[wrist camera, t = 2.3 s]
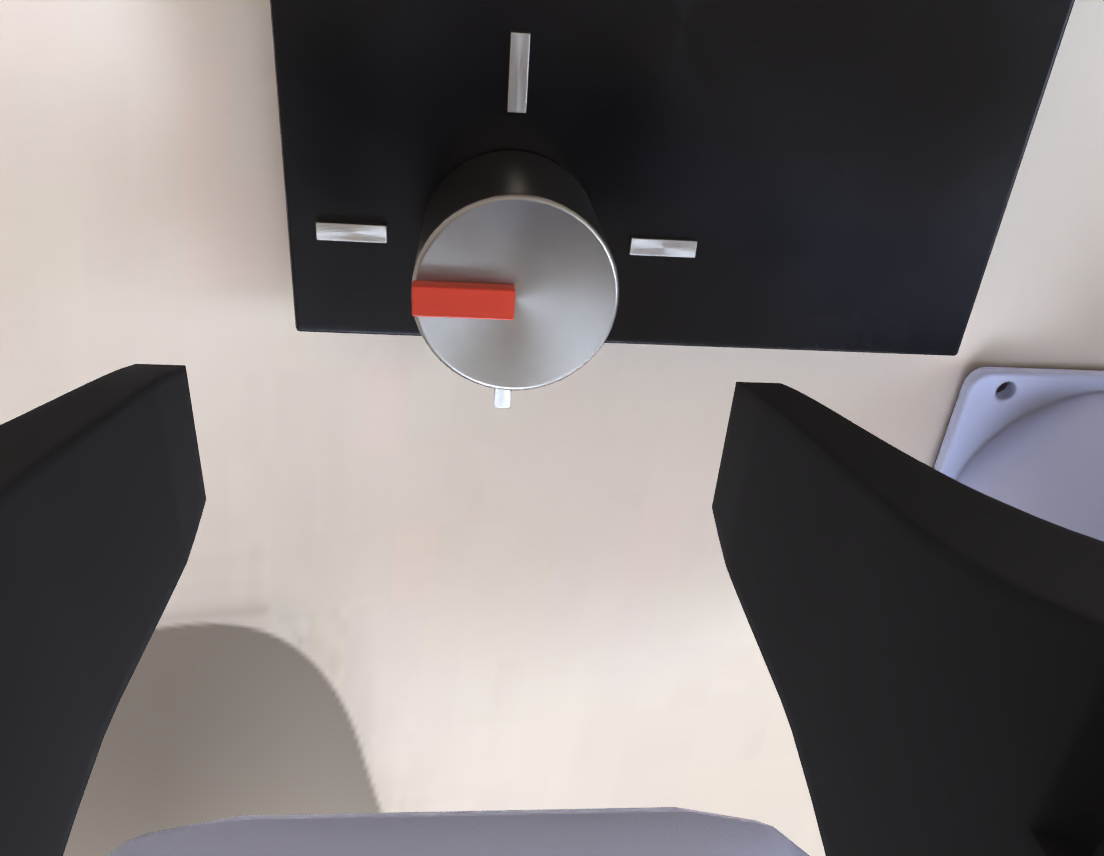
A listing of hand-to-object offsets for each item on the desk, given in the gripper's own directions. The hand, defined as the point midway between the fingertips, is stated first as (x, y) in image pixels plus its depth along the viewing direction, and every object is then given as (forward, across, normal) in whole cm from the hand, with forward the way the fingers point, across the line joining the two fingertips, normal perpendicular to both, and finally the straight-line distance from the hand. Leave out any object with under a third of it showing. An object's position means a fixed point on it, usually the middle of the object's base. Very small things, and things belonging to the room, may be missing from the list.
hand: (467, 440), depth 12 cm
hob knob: (+7, -1, -1) cm, 8 cm away
